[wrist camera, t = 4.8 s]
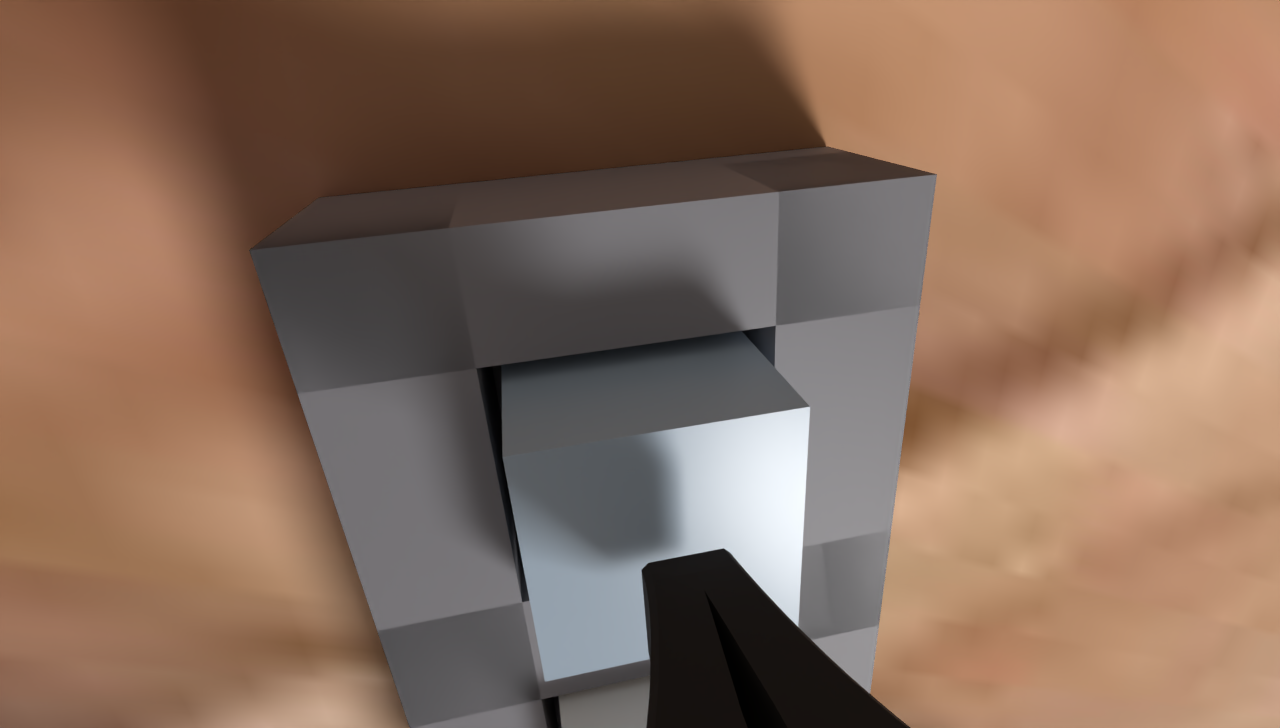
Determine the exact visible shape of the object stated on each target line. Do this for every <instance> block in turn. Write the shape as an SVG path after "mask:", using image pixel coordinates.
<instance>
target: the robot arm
mask: <svg viewBox="0 0 1280 728" xmlns="http://www.w3.org/2000/svg"><path fill="white" fill-rule="evenodd" d="M641 572H642V583H643V595H644V607H645V618H646V630H647V642H648V653H649V658H650V691H649V704H648V715H647V726H646V728H910V727H909V726H907V725H906V724H905V723H904V722H903V721H901V720H900V719H899V718H898V717H896V716H895V715H894V714H893V713H892V712H891V711H889V710H888V709H887V708H886V707H885V706H883V705H882V704H881V703H880V702H879V701H877V700H876V699H875V698H874V697H873V696H872V695H871V694H869V693H868V692H867V691H866V690H865V689H864V688H863V687H862V686H860V685H859V684H858V683H857V682H856V681H855V680H854V679H852V678H851V677H850V676H849V675H848V674H847V673H846V672H845V671H844V670H843V669H841V668H840V667H839V666H838V665H837V664H836V663H835V662H834V661H833V660H832V659H831V658H830V657H828V656H827V655H826V654H825V653H824V652H823V651H822V650H821V649H820V648H819V647H818V646H817V645H816V644H815V643H814V642H813V641H812V640H811V639H810V638H809V637H808V636H807V635H806V634H805V633H804V632H803V631H802V630H801V629H800V628H799V627H798V626H797V625H796V624H795V623H794V622H793V621H792V620H791V619H790V618H789V617H788V616H787V615H786V614H785V613H784V612H783V611H782V610H781V609H780V608H779V607H778V606H777V605H776V604H775V603H774V601H773V600H772V599H771V598H770V597H769V596H768V595H767V594H766V593H765V592H764V591H763V590H762V589H761V587H760V586H759V585H758V584H757V583H756V582H755V581H754V580H753V579H752V577H751V576H750V575H749V574H748V573H747V572H746V571H745V570H744V568H743V567H742V566H741V565H740V564H739V563H738V561H737V560H736V559H735V558H734V557H733V555H732V554H731V553H730V552H728V551H727V550H725V549H724V548H723V549H717V550H712V551H707V552H702V553H697V554H691V555H686V556H681V557H676V558H671V559H666V560H660V561H655V562H650V563H648V564H647V565H646V566H645V567H644V568H643V569H642V570H641Z"/></svg>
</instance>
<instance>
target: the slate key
mask: <svg viewBox="0 0 1280 728" xmlns="http://www.w3.org/2000/svg"><path fill="white" fill-rule="evenodd" d="M501 371H502V457H503V462H504V467H505V473H506V478H507V483H508V489H509V494H510V499H511V504H512V510H513V515H514V520H515V526H516V531H517V536H518V541H519V547H520V552H521V557H522V563H523V568H524V573H525V578H526V584H527V589H528V594H529V600H530V605H531V610H532V615H533V621H534V626H535V631H536V637H537V642H538V647H539V652H540V658H541V663H542V668H543V673H544V679H545V682H546V681H551V680H555V679H560V678H564V677H569V676H574V675H578V674H583V673H588V672H592V671H597V670H601V669H606V668H611V667H615V666H620V665H625V664H629V663H634V662H639V661H643V660H648V659H650V658H649V653H648V642H647V630H646V618H645V607H644V595H643V583H642V572H641V570H642V569H643V568H644V567H645V566H646V565H647V564H648V563H650V562H655V561H660V560H666V559H671V558H676V557H681V556H686V555H691V554H697V553H702V552H707V551H712V550H717V549H723V548H724V549H725V550H727V551H728V552H730V553H731V554H732V555H733V557H734V558H735V559H736V560H737V561H738V563H739V564H740V565H741V566H742V567H743V568H744V570H745V571H746V572H747V573H748V574H749V575H750V576H751V577H752V579H753V580H754V581H755V582H756V583H757V584H758V585H759V586H760V587H761V589H762V590H763V591H764V592H765V593H766V594H767V595H768V596H769V597H770V598H771V599H772V600H773V601H774V603H775V604H776V605H777V606H778V607H779V608H780V609H781V610H782V611H783V612H784V613H785V614H786V615H787V616H788V617H789V618H790V619H791V620H792V621H793V622H794V623H795V624H796V625H797V626H798V622H799V603H800V585H801V566H802V548H803V530H804V511H805V493H806V474H807V456H808V437H809V419H810V406H809V405H808V404H807V403H806V402H805V400H804V399H803V398H802V397H801V396H800V395H799V394H798V393H797V392H796V391H795V389H794V388H793V387H792V386H791V385H790V384H789V383H788V382H787V381H786V379H785V378H784V377H783V376H782V375H781V374H780V373H779V372H778V371H777V370H776V368H775V367H774V366H773V365H772V364H771V363H770V362H769V361H768V360H767V359H766V357H765V356H764V355H763V354H762V353H761V352H760V351H759V350H758V349H757V348H756V346H755V345H754V344H753V343H752V342H751V341H750V340H749V339H748V338H747V337H746V335H745V334H744V333H743V332H742V331H736V332H729V333H722V334H715V335H708V336H701V337H694V338H687V339H680V340H673V341H666V342H659V343H651V344H644V345H637V346H630V347H623V348H616V349H609V350H602V351H595V352H588V353H581V354H574V355H567V356H560V357H553V358H546V359H539V360H532V361H525V362H518V363H511V364H504V365H501Z"/></svg>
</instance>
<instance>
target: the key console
mask: <svg viewBox="0 0 1280 728" xmlns="http://www.w3.org/2000/svg"><path fill="white" fill-rule="evenodd" d="M936 176H937V174H933V173H929V172H925V171H921V170H918V169H914V168H910V167H906V166H902V165H898V164H894V163H890V162H886V161H882V160H878V159H874V158H870V157H867V156H863V155H859V154H855V153H851V152H847V151H843V150H839V149H835V148H831V147H818V148H808V149H798V150H788V151H778V152H768V153H758V154H748V155H738V156H728V157H719V158H709V159H699V160H689V161H679V162H669V163H659V164H649V165H639V166H629V167H619V168H609V169H599V170H589V171H579V172H569V173H559V174H549V175H539V176H529V177H519V178H509V179H499V180H490V181H480V182H470V183H460V184H450V185H440V186H430V187H420V188H410V189H400V190H390V191H380V192H370V193H360V194H350V195H340V196H330V197H320V198H318V199H316V200H315V201H314V202H312V203H311V204H310V205H308V206H307V207H306V208H304V209H303V210H302V211H300V212H299V213H298V214H297V215H295V216H294V217H293V218H291V219H290V220H289V221H287V222H286V223H285V224H283V225H282V226H281V227H279V228H278V229H277V230H275V231H274V232H273V233H271V234H270V235H269V236H267V237H266V238H265V239H263V240H262V241H261V242H259V243H258V244H257V245H255V246H254V247H253V248H251V249H250V250H249V251H250V254H251V257H252V260H253V263H254V266H255V269H256V272H257V275H258V278H259V281H260V283H261V286H262V289H263V292H264V295H265V298H266V301H267V304H268V307H269V310H270V313H271V316H272V319H273V322H274V325H275V328H276V331H277V334H278V337H279V340H280V343H281V346H282V349H283V352H284V355H285V358H286V361H287V364H288V367H289V370H290V373H291V376H292V379H293V382H294V385H295V388H296V391H297V394H298V397H299V400H300V403H301V405H302V408H303V411H304V414H305V417H306V420H307V423H308V426H309V429H310V432H311V435H312V438H313V441H314V444H315V447H316V450H317V453H318V456H319V459H320V462H321V465H322V468H323V471H324V474H325V477H326V480H327V483H328V486H329V489H330V492H331V495H332V498H333V501H334V504H335V507H336V510H337V513H338V516H339V519H340V522H341V525H342V527H343V530H344V533H345V536H346V539H347V542H348V545H349V548H350V551H351V554H352V557H353V560H354V563H355V566H356V569H357V572H358V575H359V578H360V581H361V584H362V587H363V590H364V593H365V596H366V599H367V602H368V605H369V608H370V611H371V614H372V617H373V620H374V623H375V626H376V629H377V632H378V635H379V638H380V641H381V644H382V647H383V649H384V652H385V655H386V658H387V661H388V664H389V667H390V670H391V673H392V676H393V679H394V682H395V685H396V688H397V691H398V694H399V697H400V700H401V703H402V706H403V709H404V712H405V715H406V718H407V721H408V724H409V727H410V728H562V727H561V717H560V706H559V695H564V694H568V693H573V692H577V691H582V690H587V689H591V688H596V687H600V686H605V685H609V684H614V683H618V682H623V681H627V680H632V679H637V678H641V677H646V676H650V659H648V660H643V661H639V662H634V663H629V664H625V665H620V666H615V667H611V668H606V669H601V670H597V671H592V672H588V673H583V674H578V675H574V676H569V677H564V678H560V679H555V680H551V681H546V682H545V679H544V673H543V668H542V663H541V658H540V652H539V647H538V642H537V637H536V631H535V626H534V621H533V615H532V610H531V605H530V600H529V594H528V589H527V584H526V578H525V573H524V568H523V563H522V557H521V552H520V547H519V541H518V536H517V531H516V526H515V520H514V515H513V510H512V504H511V499H510V494H509V489H508V483H507V478H506V473H505V467H504V462H503V457H502V371H501V365H504V364H511V363H518V362H525V361H532V360H539V359H546V358H553V357H560V356H567V355H574V354H581V353H588V352H595V351H602V350H609V349H616V348H623V347H630V346H637V345H644V344H651V343H659V342H666V341H673V340H680V339H687V338H694V337H701V336H708V335H715V334H722V333H729V332H736V331H742V332H743V333H744V334H745V335H746V337H747V338H748V339H749V340H750V341H751V342H752V343H753V344H754V345H755V346H756V348H757V349H758V350H759V351H760V352H761V353H762V354H763V355H764V356H765V357H766V359H767V360H768V361H769V362H770V363H771V364H772V365H773V366H774V367H775V368H776V370H777V371H778V372H779V373H780V374H781V375H782V376H783V377H784V378H785V379H786V381H787V382H788V383H789V384H790V385H791V386H792V387H793V388H794V389H795V391H796V392H797V393H798V394H799V395H800V396H801V397H802V398H803V399H804V400H805V402H806V403H807V404H808V405H809V406H810V419H809V437H808V456H807V474H806V493H805V511H804V530H803V548H802V566H801V585H800V603H799V622H798V627H799V628H800V629H801V630H802V631H803V632H804V633H805V634H806V635H807V636H808V637H809V638H810V639H811V640H812V641H813V642H814V643H815V644H816V645H817V646H818V647H819V648H820V649H821V650H822V651H823V652H824V653H825V654H826V655H827V656H828V657H830V658H831V659H832V660H833V661H834V662H835V663H836V664H837V665H838V666H839V667H840V668H841V669H843V670H844V671H845V672H846V673H847V674H848V675H849V676H850V677H851V678H852V679H854V680H855V681H856V682H857V683H858V684H859V685H860V686H862V687H863V688H864V689H865V690H866V691H867V692H868V693H869V694H870V690H871V682H872V674H873V666H874V659H875V651H876V643H877V635H878V628H879V620H880V612H881V604H882V596H883V589H884V581H885V573H886V565H887V558H888V550H889V542H890V534H891V526H892V519H893V511H894V503H895V495H896V488H897V480H898V472H899V464H900V456H901V449H902V441H903V433H904V425H905V417H906V410H907V402H908V394H909V386H910V379H911V371H912V363H913V355H914V347H915V340H916V332H917V324H918V316H919V309H920V301H921V293H922V285H923V277H924V270H925V262H926V254H927V246H928V239H929V231H930V223H931V215H932V207H933V200H934V192H935V184H936Z"/></svg>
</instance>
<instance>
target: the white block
mask: <svg viewBox="0 0 1280 728" xmlns="http://www.w3.org/2000/svg"><path fill="white" fill-rule="evenodd" d="M649 691H650V676H646V677H641V678H637V679H632V680H627V681H623V682H618V683H614V684H609V685H605V686H600V687H596V688H591V689H587V690H582V691H577V692H573V693H568V694H564V695H559V706H560V717H561V727H562V728H646V726H647V715H648V704H649Z"/></svg>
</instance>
